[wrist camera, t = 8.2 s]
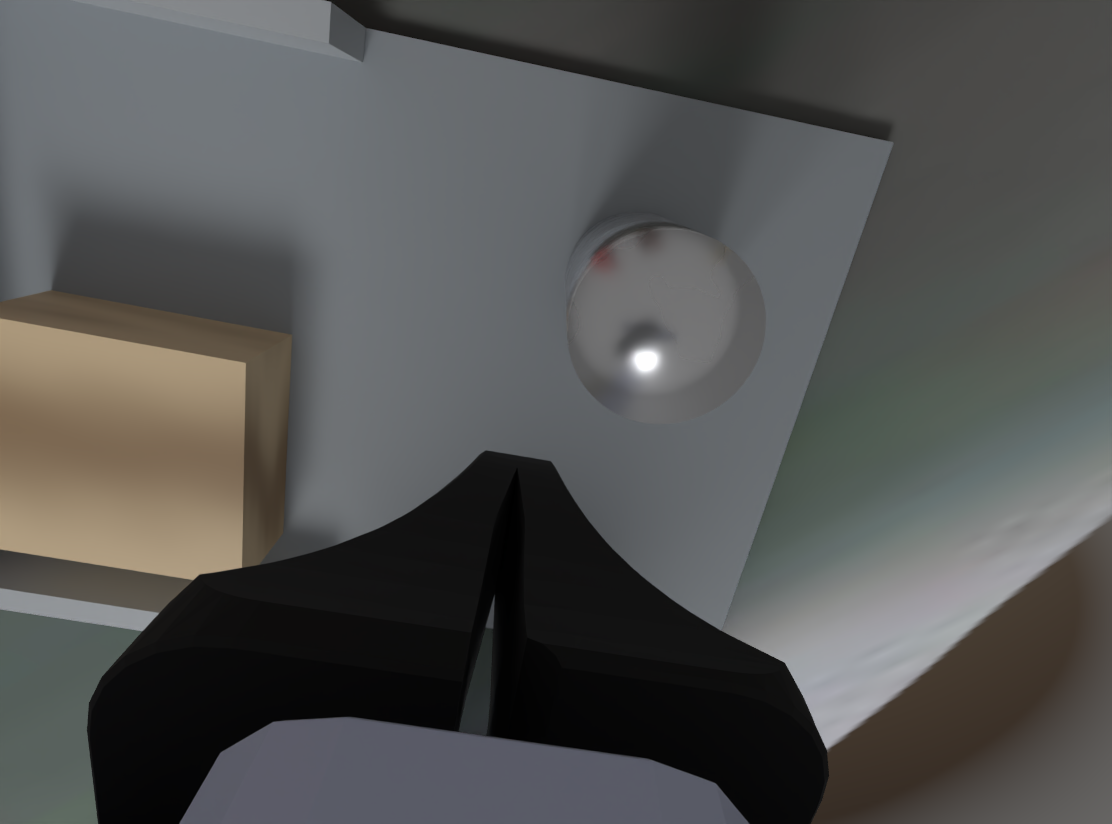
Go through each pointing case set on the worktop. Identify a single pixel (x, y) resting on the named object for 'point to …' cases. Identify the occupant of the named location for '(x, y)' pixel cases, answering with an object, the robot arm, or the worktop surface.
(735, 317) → the metal peg
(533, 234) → the parts board
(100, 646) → the worktop surface
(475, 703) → the worktop surface
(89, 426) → the oak tile
